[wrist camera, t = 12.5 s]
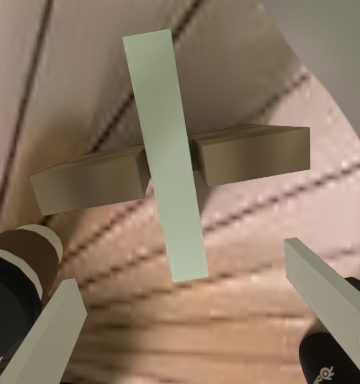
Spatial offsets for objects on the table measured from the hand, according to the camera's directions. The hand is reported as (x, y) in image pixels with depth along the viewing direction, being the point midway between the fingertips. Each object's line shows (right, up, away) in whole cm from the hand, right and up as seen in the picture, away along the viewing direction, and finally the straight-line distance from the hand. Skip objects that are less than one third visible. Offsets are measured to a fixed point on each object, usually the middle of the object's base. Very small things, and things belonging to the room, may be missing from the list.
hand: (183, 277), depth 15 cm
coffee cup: (-19, -2, +17) cm, 25 cm away
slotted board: (-1, +10, +14) cm, 17 cm away
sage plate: (-1, +10, +14) cm, 17 cm away
